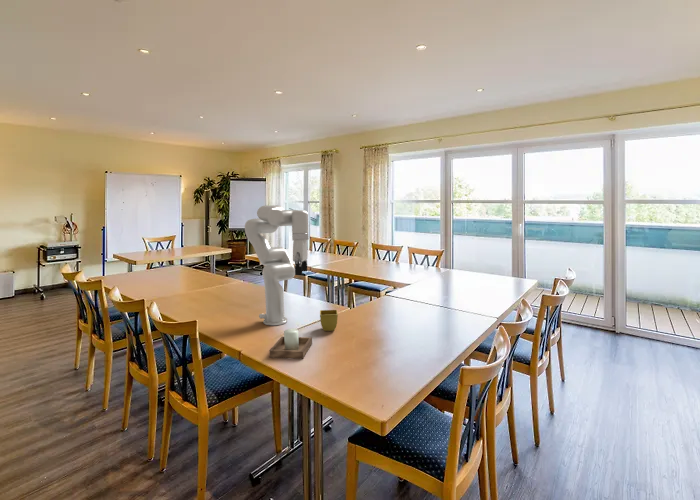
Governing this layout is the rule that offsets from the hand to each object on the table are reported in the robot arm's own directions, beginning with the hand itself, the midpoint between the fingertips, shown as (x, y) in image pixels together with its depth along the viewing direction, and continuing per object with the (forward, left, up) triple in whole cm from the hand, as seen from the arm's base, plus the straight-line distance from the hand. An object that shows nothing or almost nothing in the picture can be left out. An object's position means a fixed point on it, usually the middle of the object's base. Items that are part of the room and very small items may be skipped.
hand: (301, 273), depth 166 cm
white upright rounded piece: (0, -19, -30) cm, 35 cm away
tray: (0, -19, -30) cm, 36 cm away
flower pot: (+11, +9, -31) cm, 34 cm away
